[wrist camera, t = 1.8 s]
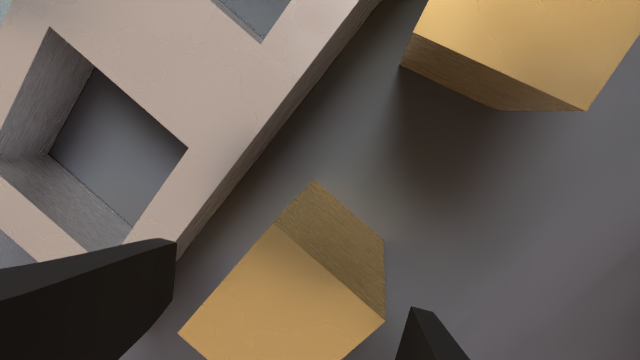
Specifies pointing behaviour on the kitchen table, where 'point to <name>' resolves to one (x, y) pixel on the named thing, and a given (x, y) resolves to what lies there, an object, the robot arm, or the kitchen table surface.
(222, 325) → the brushed gold block
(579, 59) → the wooden brick
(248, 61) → the white slotted board
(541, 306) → the kitchen table surface
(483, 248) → the kitchen table surface
